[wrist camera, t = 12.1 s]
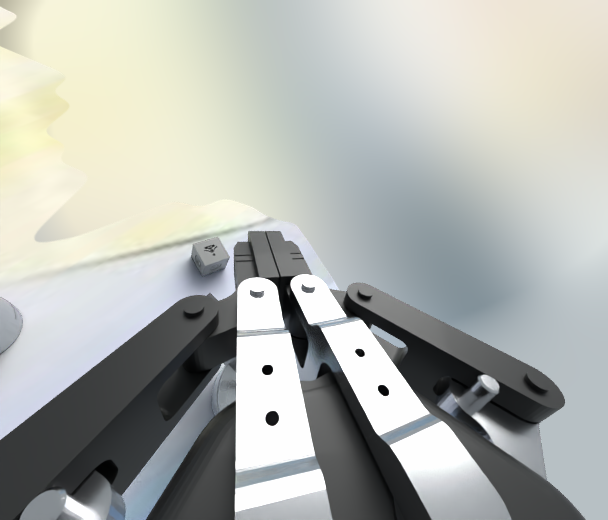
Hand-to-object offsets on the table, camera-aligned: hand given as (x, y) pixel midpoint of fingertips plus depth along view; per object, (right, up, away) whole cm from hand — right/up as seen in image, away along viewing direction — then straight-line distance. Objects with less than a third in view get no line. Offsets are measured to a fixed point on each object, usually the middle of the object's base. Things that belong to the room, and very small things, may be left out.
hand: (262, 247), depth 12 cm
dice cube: (-18, -1, +39) cm, 43 cm away
